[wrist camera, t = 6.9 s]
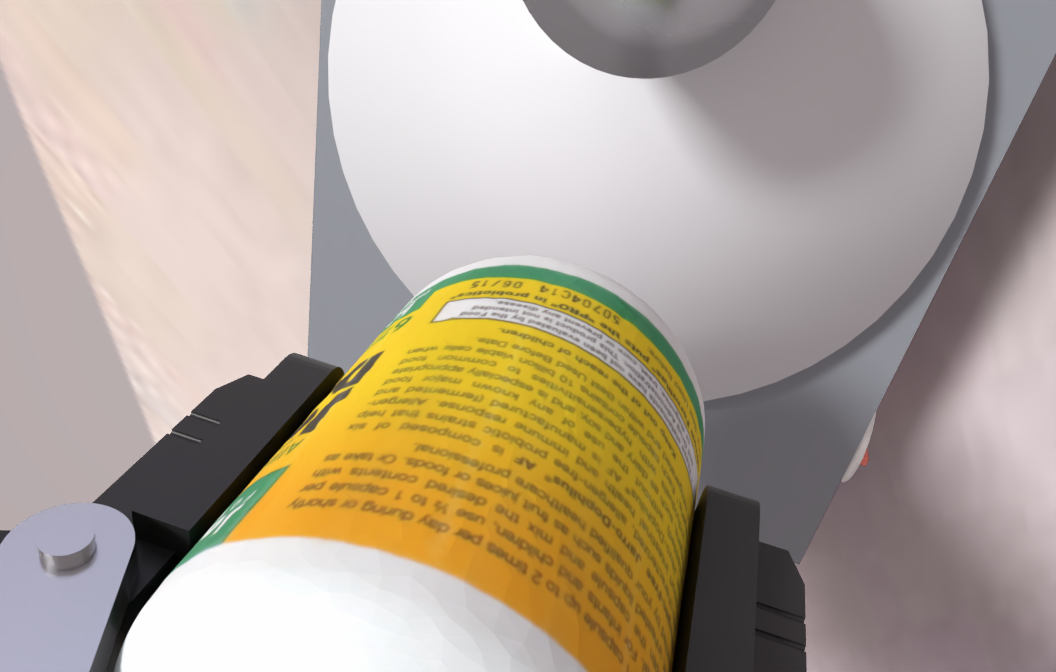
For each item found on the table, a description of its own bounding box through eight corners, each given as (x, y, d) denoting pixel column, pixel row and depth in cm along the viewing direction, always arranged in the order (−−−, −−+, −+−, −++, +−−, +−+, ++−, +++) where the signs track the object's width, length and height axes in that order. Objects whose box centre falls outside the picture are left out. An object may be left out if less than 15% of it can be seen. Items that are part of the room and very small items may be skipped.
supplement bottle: (648, 561, 15) (482, 1399, 7) (372, 457, 15) (-86, 1116, 7) (763, 311, 12) (716, 1261, 4) (418, 194, 12) (-260, 805, 4)
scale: (811, 495, 24) (816, 586, 21) (352, 353, 26) (295, 418, 23) (1176, -259, 14) (1279, -293, 11) (407, -394, 16) (322, -454, 13)
